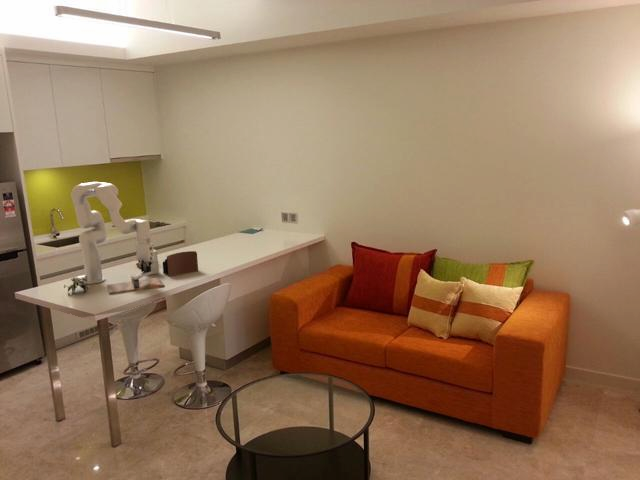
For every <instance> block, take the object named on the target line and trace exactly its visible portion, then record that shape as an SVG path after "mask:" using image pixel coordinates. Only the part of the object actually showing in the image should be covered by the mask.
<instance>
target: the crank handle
mask: <svg viewBox="0 0 640 480" xmlns="http://www.w3.org/2000/svg"><path fill="white" fill-rule="evenodd" d="M146 266H147V263H146V261H144V262H143V272H140V273H138V274H135V275H134V276H132V280H141V279H142V278H144V277H146V276H150V275H149V274H151V272H148V273H147V271H146ZM151 275H152V274H151Z"/></svg>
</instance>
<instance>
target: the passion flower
mask: <svg viewBox="0 0 640 480" xmlns="http://www.w3.org/2000/svg"><path fill="white" fill-rule="evenodd" d="M80 277H81V276H80ZM81 278H82V279H83V280H85V281H87V280H86V279H85V278H83V277H81ZM70 280H71V281H72V284H71V285H69V286H66V284H64V286H63V288H64V289H65V287H66V288H67V293H69V291H71V295H73V293H74V292H75V291H76V289H77V287H78V286H79V287H80V288H81V289H83V291H84V292H85V293H87V292H88V289H89V287H88V286H89V284H85V283H84V282H83V280H79V279H77V277H72V278H70Z"/></svg>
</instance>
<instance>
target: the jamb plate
mask: <svg viewBox="0 0 640 480" xmlns="http://www.w3.org/2000/svg"><path fill="white" fill-rule="evenodd" d="M134 275H136V273H131V274H130V279H131V280H130V281H123V282H119V283H118V282H117V283H110V284H106V287H107V291H108V293H109V295H110V296H111V295H117V294H123V293H130V292H137V291H138V292H139V291H144V290H150V289H151V288H152V289H157V287H159V288H165V283H164V282H163V281H162V280H161V278H160V277H153V278H145V279H138V280H132V276H134ZM152 289H151V290H152Z"/></svg>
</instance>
